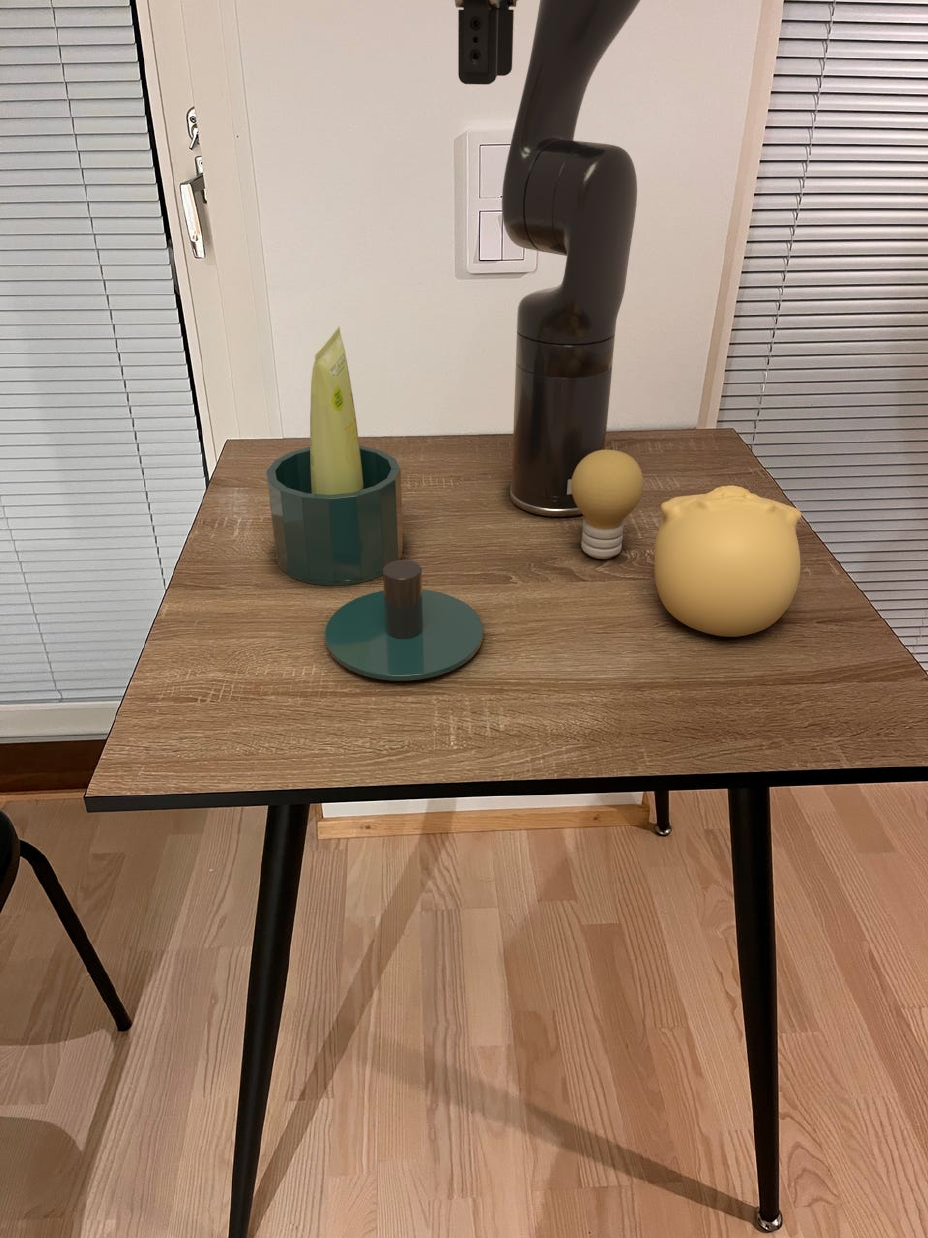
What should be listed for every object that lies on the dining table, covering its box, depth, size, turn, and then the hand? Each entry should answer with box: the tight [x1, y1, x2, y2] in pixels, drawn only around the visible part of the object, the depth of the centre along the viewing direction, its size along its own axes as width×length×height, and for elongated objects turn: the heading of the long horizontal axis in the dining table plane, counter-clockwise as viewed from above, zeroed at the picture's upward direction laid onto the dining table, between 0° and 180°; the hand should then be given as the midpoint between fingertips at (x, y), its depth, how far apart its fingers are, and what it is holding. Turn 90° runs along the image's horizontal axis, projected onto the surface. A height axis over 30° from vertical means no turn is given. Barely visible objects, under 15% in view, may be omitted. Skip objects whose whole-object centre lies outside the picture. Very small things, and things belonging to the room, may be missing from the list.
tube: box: [309, 325, 364, 495], centre depth 83 cm, size 6×5×20 cm
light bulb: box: [571, 449, 644, 560], centre depth 87 cm, size 6×6×10 cm
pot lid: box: [324, 559, 484, 682], centre depth 75 cm, size 13×13×7 cm
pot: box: [265, 444, 404, 587], centre depth 87 cm, size 12×12×8 cm
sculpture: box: [653, 485, 802, 638], centre depth 78 cm, size 12×12×11 cm
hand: (486, 79), depth 60 cm, fingers open, 8 cm apart
